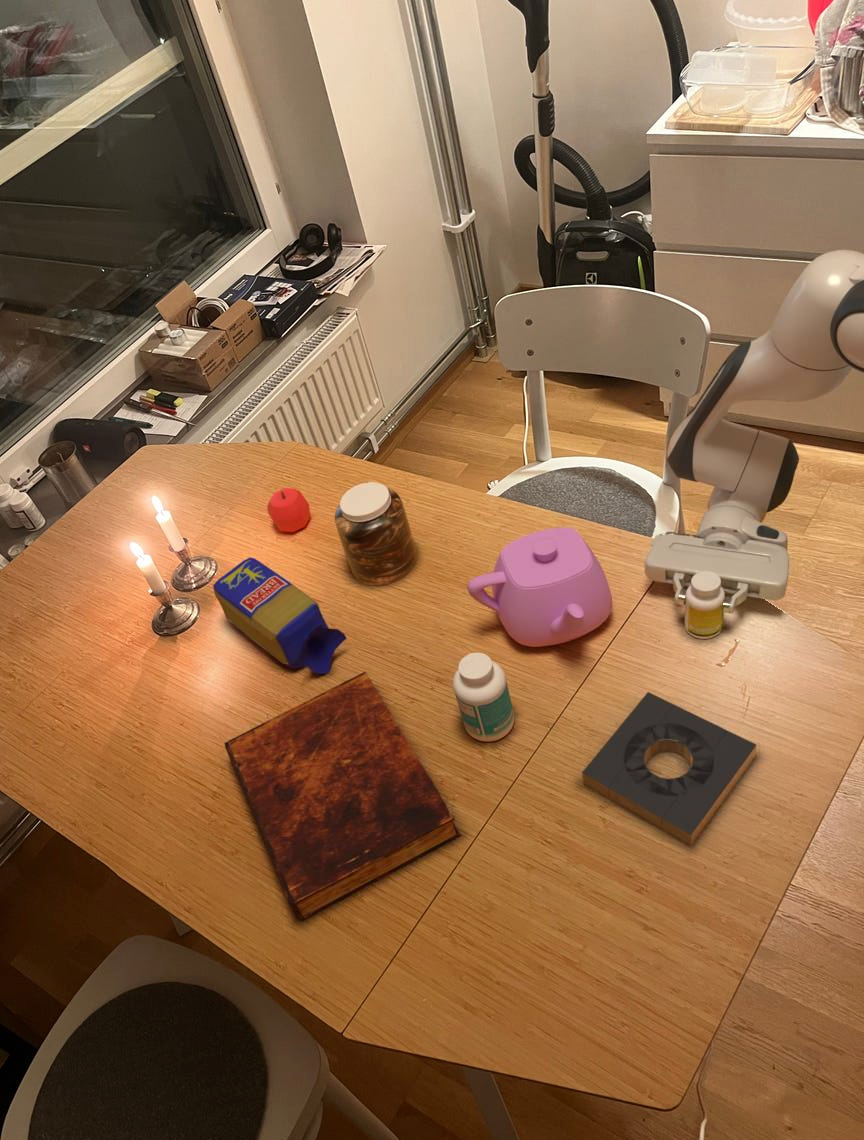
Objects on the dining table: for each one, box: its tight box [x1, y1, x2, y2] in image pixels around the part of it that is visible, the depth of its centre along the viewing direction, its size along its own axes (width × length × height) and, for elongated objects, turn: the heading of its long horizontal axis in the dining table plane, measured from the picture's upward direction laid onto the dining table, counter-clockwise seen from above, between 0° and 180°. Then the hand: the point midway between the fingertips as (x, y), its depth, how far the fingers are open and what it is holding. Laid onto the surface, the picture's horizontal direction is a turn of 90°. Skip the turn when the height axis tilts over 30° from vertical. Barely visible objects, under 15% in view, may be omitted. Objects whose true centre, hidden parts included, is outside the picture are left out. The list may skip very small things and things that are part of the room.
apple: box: [266, 487, 311, 533], centre depth 171 cm, size 8×8×8 cm
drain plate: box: [581, 691, 758, 847], centre depth 121 cm, size 16×16×3 cm
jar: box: [334, 481, 418, 587], centre depth 156 cm, size 12×12×15 cm
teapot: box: [466, 526, 613, 648], centre depth 137 cm, size 23×21×15 cm
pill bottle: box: [452, 652, 515, 743], centre depth 129 cm, size 8×7×14 cm
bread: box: [212, 557, 347, 675], centre depth 151 cm, size 10×25×10 cm, turn 42°
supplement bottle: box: [684, 571, 726, 640], centre depth 133 cm, size 5×5×10 cm
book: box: [224, 671, 462, 922], centre depth 129 cm, size 30×24×5 cm
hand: (703, 605), depth 132 cm, fingers closed on supplement bottle, 5 cm apart
